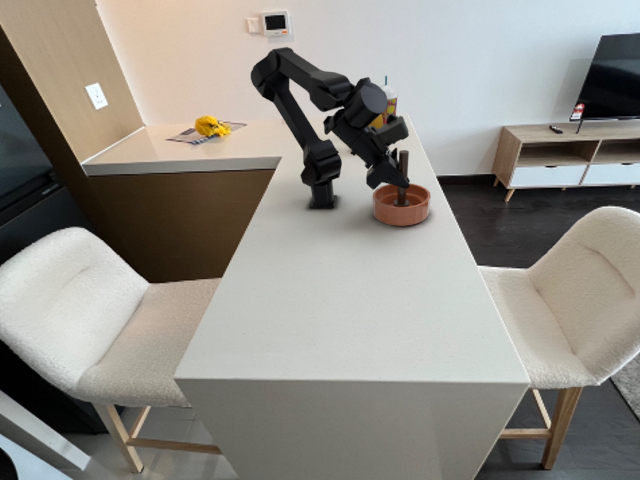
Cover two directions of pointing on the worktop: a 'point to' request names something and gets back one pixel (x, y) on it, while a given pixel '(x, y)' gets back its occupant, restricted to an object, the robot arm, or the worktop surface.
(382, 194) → the bowl
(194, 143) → the worktop surface
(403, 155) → the stick
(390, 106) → the smoothie
